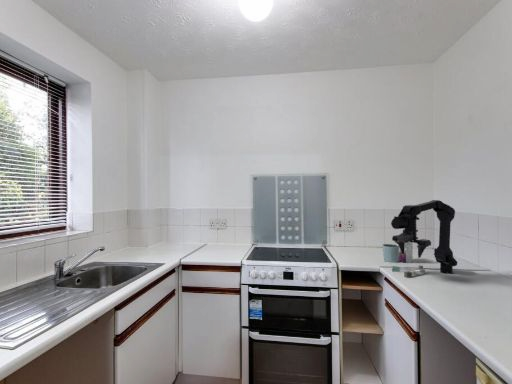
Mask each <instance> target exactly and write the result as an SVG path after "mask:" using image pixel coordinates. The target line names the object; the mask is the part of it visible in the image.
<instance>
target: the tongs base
mask: <svg viewBox="0 0 512 384" xmlns="http://www.w3.org/2000/svg"><path fill="white" fill-rule="evenodd" d="M403 273H404V274H403V276H404V278H412V277H417V276H421V275H425V274H426V268H424V266H423V265H418V270H414V271H407V272H403Z"/></svg>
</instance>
